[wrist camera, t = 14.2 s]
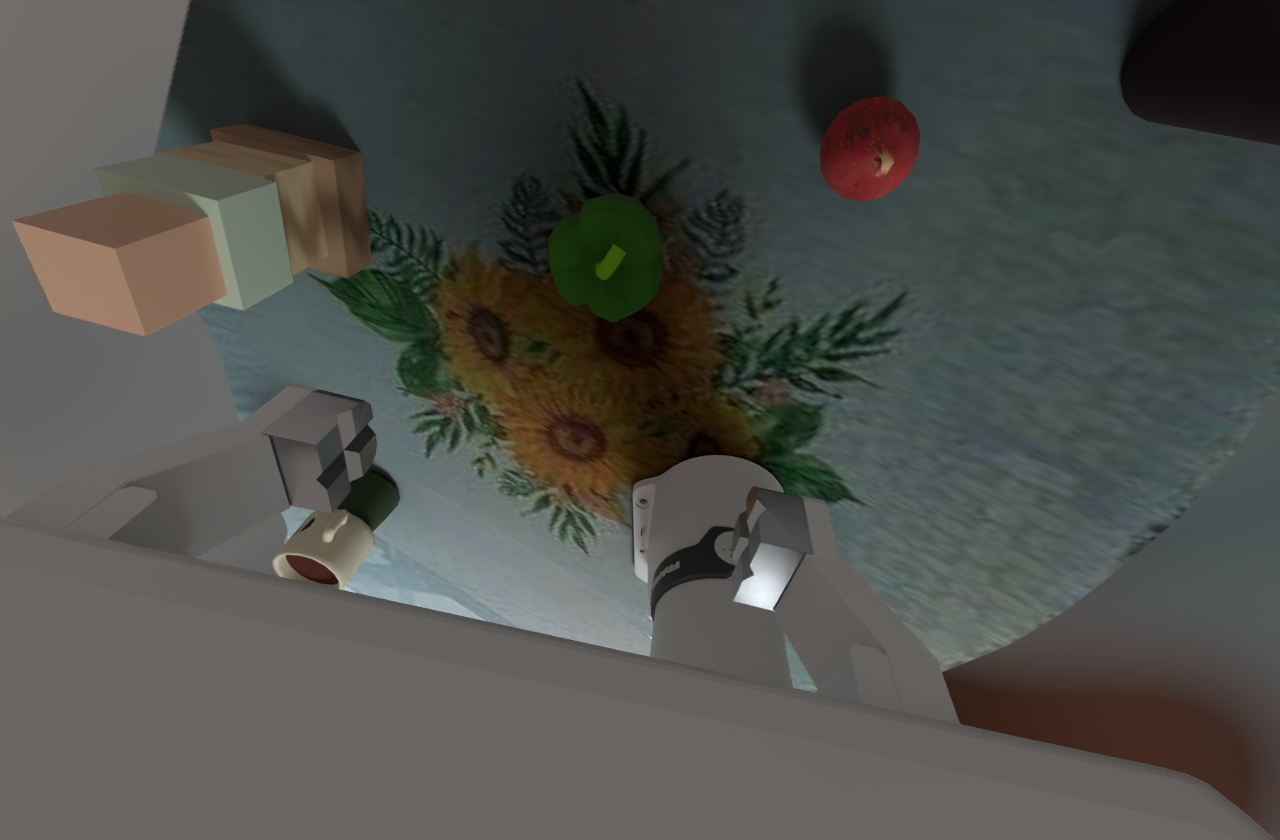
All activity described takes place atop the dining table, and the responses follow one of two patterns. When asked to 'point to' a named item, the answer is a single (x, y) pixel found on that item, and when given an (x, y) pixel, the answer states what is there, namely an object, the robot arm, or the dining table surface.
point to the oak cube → (292, 191)
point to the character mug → (338, 535)
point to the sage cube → (217, 217)
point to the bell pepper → (607, 256)
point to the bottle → (1210, 69)
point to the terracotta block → (124, 261)
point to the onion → (869, 148)
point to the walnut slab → (321, 191)
